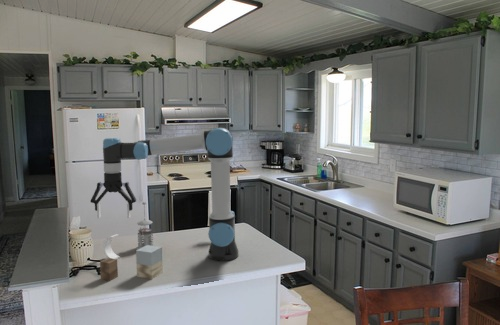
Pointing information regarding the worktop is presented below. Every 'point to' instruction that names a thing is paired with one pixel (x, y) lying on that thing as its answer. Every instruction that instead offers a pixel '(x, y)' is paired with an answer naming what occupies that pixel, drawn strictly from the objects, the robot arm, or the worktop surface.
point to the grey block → (149, 255)
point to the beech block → (149, 270)
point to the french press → (144, 233)
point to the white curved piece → (109, 248)
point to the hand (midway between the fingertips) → (114, 217)
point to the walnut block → (108, 269)
